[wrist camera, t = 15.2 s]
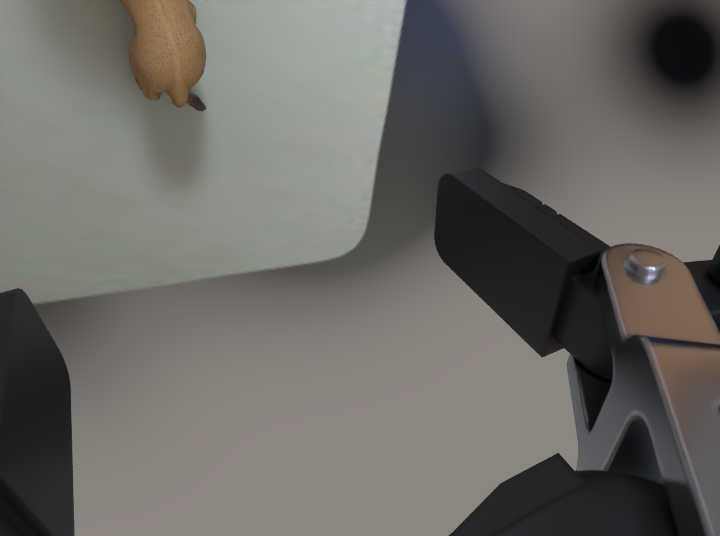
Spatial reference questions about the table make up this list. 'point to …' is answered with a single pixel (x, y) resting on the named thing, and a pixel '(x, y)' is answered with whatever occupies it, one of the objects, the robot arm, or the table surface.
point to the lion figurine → (166, 49)
